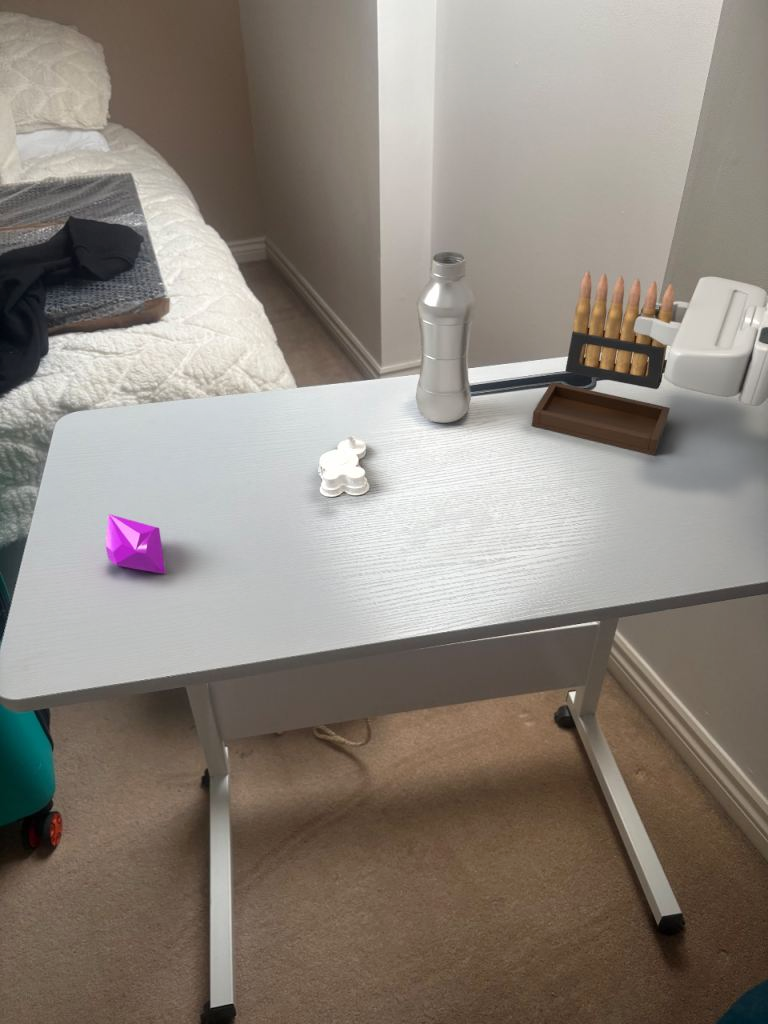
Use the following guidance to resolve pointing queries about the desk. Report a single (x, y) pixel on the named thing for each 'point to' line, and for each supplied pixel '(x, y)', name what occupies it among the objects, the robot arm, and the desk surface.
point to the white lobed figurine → (343, 469)
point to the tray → (601, 417)
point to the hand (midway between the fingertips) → (638, 316)
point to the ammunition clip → (617, 335)
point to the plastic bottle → (445, 340)
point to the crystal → (134, 545)
